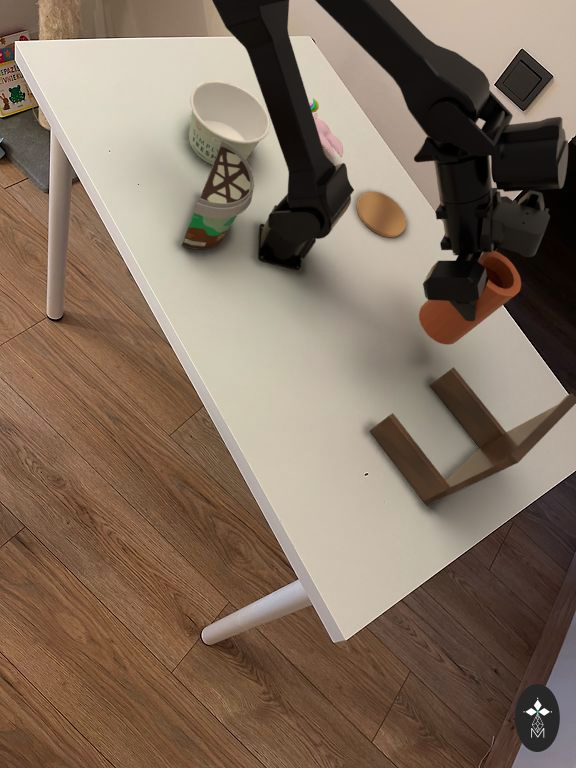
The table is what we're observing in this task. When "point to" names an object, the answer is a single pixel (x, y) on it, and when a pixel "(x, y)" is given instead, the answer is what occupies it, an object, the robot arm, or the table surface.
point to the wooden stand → (481, 426)
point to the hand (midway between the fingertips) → (478, 303)
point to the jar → (500, 288)
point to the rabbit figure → (326, 133)
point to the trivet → (381, 214)
